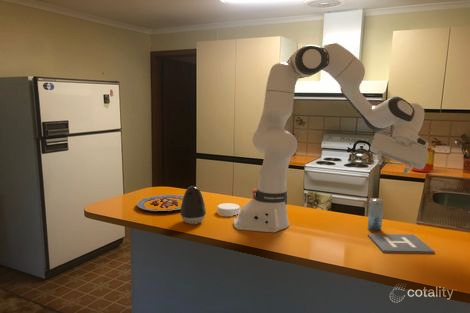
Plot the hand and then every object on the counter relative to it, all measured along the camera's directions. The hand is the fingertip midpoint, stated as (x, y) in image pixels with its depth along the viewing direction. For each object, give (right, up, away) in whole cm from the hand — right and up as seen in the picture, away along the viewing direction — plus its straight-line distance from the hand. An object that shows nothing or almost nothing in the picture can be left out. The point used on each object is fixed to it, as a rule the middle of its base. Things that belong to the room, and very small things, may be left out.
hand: (391, 168), depth 134 cm
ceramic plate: (-91, -19, +36) cm, 100 cm away
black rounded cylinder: (-75, -23, +14) cm, 80 cm away
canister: (-4, -24, +8) cm, 26 cm away
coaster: (-61, -21, +27) cm, 70 cm away
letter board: (0, -26, -7) cm, 27 cm away
